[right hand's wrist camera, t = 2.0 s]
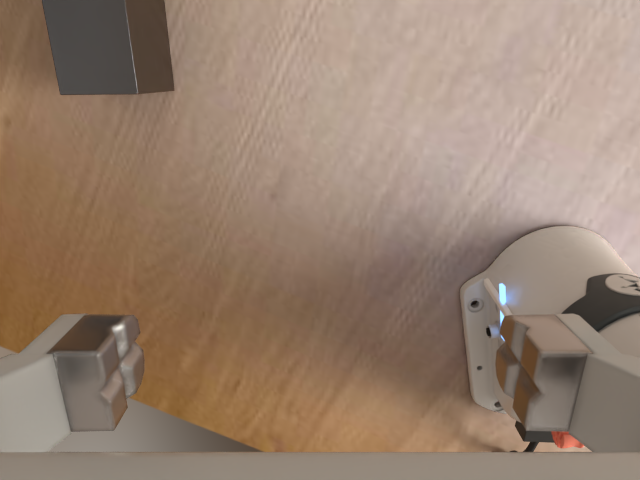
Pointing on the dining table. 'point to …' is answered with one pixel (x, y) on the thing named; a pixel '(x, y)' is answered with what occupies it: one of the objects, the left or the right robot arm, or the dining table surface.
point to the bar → (109, 46)
